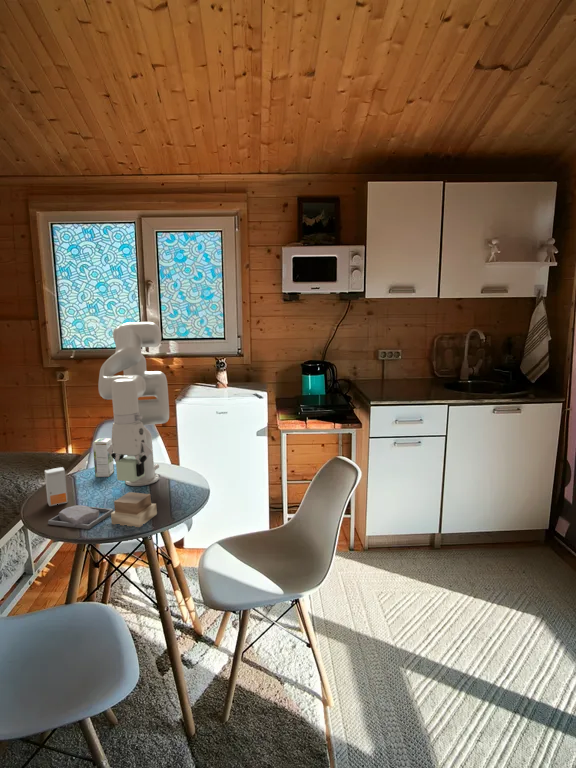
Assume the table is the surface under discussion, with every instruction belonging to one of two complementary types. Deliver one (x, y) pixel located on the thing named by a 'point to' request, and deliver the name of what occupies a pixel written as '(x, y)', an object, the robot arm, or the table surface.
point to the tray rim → (84, 526)
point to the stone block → (78, 515)
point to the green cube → (127, 469)
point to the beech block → (134, 517)
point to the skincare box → (56, 486)
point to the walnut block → (132, 503)
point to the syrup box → (103, 457)
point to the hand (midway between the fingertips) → (131, 473)
